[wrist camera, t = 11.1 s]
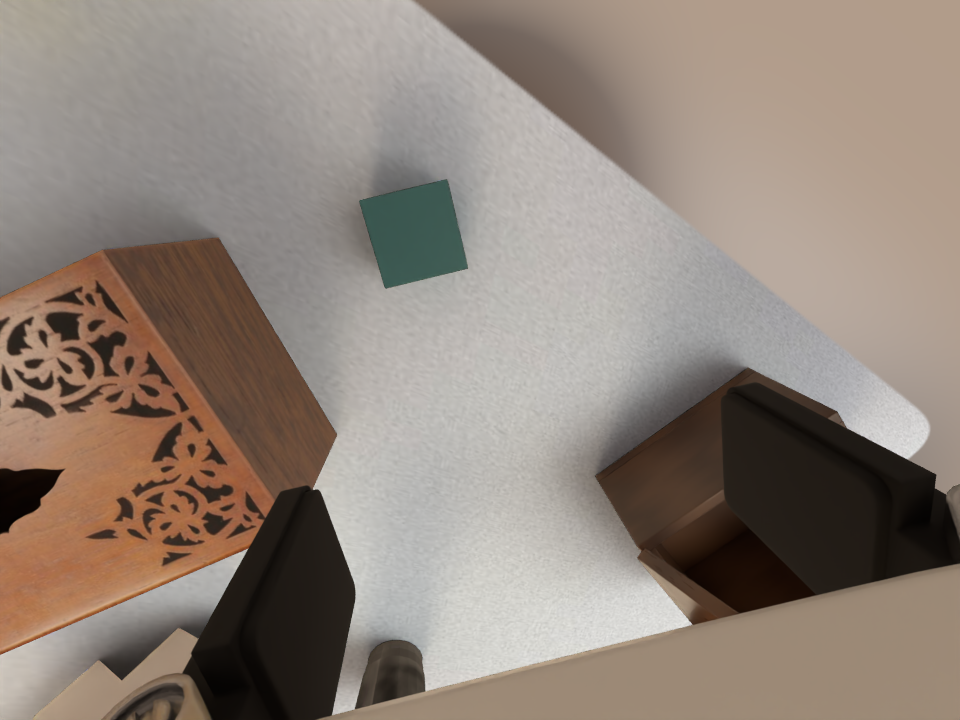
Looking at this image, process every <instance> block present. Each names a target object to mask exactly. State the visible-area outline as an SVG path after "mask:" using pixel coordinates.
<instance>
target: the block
mask: <svg viewBox="0 0 960 720" xmlns="http://www.w3.org/2000/svg"><path fill="white" fill-rule="evenodd" d="M359 202H360V206H361V209H362V212H363V216H364V219H365V223H366V226H367V229H368V233H369V236H370V239H371V243H372V246H373V250H374V253H375V256H376V260H377V263H378V266H379V270H380V273H381V276H382V280H383V283H384V287H385V288H390V287H395V286H399V285H403V284H407V283H411V282H415V281H419V280H423V279H427V278H431V277H435V276H440V275H444V274H448V273H452V272H456V271H460V270H464V269H468V265H467V261H466V257H465V252H464V248H463V244H462V239H461V235H460V231H459V227H458V222H457V218H456V214H455V210H454V205H453V201H452V197H451V193H450V188H449V184H448V180H447V179H446V180H441V181H437V182H433V183H429V184H425V185H421V186H417V187H412V188H408V189H404V190H400V191H396V192H392V193H388V194H383V195H379V196H375V197H371V198H367V199H363V200H360V201H359Z"/></svg>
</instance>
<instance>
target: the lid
mask: <svg viewBox="0 0 960 720" xmlns="http://www.w3.org/2000/svg"><path fill="white" fill-rule="evenodd" d="M637 559H638V560H639V561H640V562H641V564H642V565H643V566H644V567H645V568H646V570H647V571H648V572H649V573H650V574H651V576H652V577H653V578H654V579H655V580H656V581H657V583H658V584H659V585H660V586H661V587H662V589H663V590H664V591H665V592H666V593H667V594H668V596H669V597H670V598H671V599H672V600H673V602H674V603H675V604H676V605H677V606H678V608H679V609H680V610H681V611H682V612H683V613H684V615H685V616H686V617H687V618H688V619H689V621H690V622H691V623H692V624H693V625H695V624H699V623H703V622H707V621H712V620H716V619H720V618H724V617H728V616H733V615H737V614H740V613H738V612H737V611H735V610H734V609H733V608H731V607H730V606H728V605H727V604H725V603H724V602H722V601H721V600H720V599H718V598H717V597H715V596H714V595H712V594H711V593H710V592H708V591H707V590H705V589H704V588H702V587H701V586H699V585H698V584H697V583H695V582H694V581H692V580H691V579H689V578H688V577H686V576H685V575H684V574H682V573H681V572H679V571H678V570H676V569H675V568H673V567H672V566H671V565H669V564H668V563H666V562H665V561H663V560H662V559H660V558H659V557H658V556H656V555H655V554H653V553H652V552H650V551H649V550H647V549H646V548H645V549H644V550H643V551H642V552H641V553H640V554H639V556H638V557H637Z"/></svg>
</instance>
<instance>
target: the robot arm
mask: <svg viewBox="0 0 960 720" xmlns="http://www.w3.org/2000/svg"><path fill="white" fill-rule="evenodd" d="M721 427H722V453H723V479H724V496H725V500H726V502H727V505H728V506H729V508H730V509H731V510H732V512H733V513H734V514H735V515H736V516H737V517H738V518H739V519H740V520H741V521H743V522H744V523H745V524H746V525H747V526H748V527H749V528H750V529H751V530H752V531H753V532H754V533H755V534H756V535H757V536H758V537H759V538H760V539H761V540H762V541H763V542H764V543H765V544H766V545H767V546H768V547H769V548H770V549H771V550H772V551H773V552H774V553H775V554H776V555H777V556H778V557H779V558H780V559H781V560H782V561H783V562H784V563H785V564H786V565H787V566H788V567H789V568H790V569H791V570H792V571H793V572H794V573H795V574H796V575H797V576H798V577H799V578H800V579H801V580H802V581H803V582H804V583H805V584H806V585H807V586H808V587H809V588H810V589H811V590H812V591H813V592H814V593H815V594H816V596H812V597H808V598H804V599H800V600H795V601H791V602H787V603H783V604H779V605H774V606H770V607H766V608H762V609H758V610H753V611H749V612H745V613H741V614H737V615H733V616H728V617H724V618H720V619H716V620H712V621H707V622H703V623H699V624H695V625H691V626H687V627H683V628H679V629H675V630H671V631H666V632H662V633H658V634H654V635H650V636H646V637H642V638H638V639H634V640H630V641H626V642H621V643H617V644H613V645H609V646H605V647H601V648H597V649H593V650H589V651H585V652H581V653H577V654H573V655H569V656H565V657H561V658H557V659H553V660H549V661H544V662H540V663H536V664H532V665H528V666H524V667H520V668H516V669H513V670H509V671H505V672H501V673H497V674H493V675H489V676H485V677H481V678H477V679H473V680H469V681H465V682H461V683H457V684H453V685H449V686H445V687H441V688H437V689H433V690H429V691H425V692H421V693H417V694H413V695H409V696H405V697H402V698H398V699H394V700H390V701H386V702H382V703H378V704H374V705H370V706H367V707H363V708H359V709H355V710H351V711H347V712H343V713H340V714H336V715H332V712H333V707H334V702H335V697H336V692H337V687H338V682H339V677H340V672H341V667H342V662H343V657H344V653H345V648H346V643H347V638H348V633H349V628H350V623H351V618H352V613H353V608H354V603H355V585H354V581H353V579H352V576H351V573H350V571H349V568H348V565H347V562H346V560H345V557H344V554H343V551H342V549H341V546H340V543H339V541H338V538H337V535H336V532H335V530H334V527H333V524H332V522H331V519H330V516H329V513H328V511H327V508H326V505H325V503H324V500H323V497H322V495H321V492H320V491H319V490H312V489H311V488H310V486H308V485H305V486H301V487H297V488H292V489H288V490H284V491H281V492H280V493H279V495H278V496H277V498H276V500H275V502H274V504H273V505H272V507H271V509H270V511H269V513H268V514H267V516H266V518H265V520H264V522H263V523H262V525H261V527H260V529H259V531H258V532H257V534H256V536H255V538H254V540H253V541H252V543H251V545H250V547H249V549H248V550H247V552H246V554H245V556H244V558H243V560H242V561H241V563H240V565H239V567H238V569H237V570H236V572H235V574H234V576H233V578H232V579H231V581H230V583H229V585H228V587H227V588H226V590H225V592H224V594H223V596H222V597H221V599H220V601H219V603H218V605H217V606H216V608H215V610H214V612H213V614H212V615H211V617H210V619H209V621H208V623H207V624H206V626H205V628H204V630H203V632H202V633H201V635H200V637H199V639H198V641H197V642H196V644H195V646H194V648H193V650H192V652H191V655H192V656H191V658H190V660H189V661H188V663H187V665H186V667H185V669H184V670H183V672H182V674H181V673H174V674H168V675H164V676H161V677H159V678H156V679H154V680H151V681H149V682H147V683H146V684H144V685H142V686H141V687H139V688H137V689H136V690H134V691H133V692H131V693H130V694H129V695H127V696H126V697H125V698H124V699H122V700H121V701H120V702H119V703H117V704H116V705H115V706H114V707H113V708H112V709H111V710H110V711H109V712H108V713H107V714H106V715H105V716H104V717H103V718H102V719H101V720H960V484H959V485H956V486H953V487H952V488H951V489H950V490H949V491H948V492H947V495H946V494H944V493H942V492H940V491H939V490H937V489H935V481H936V474H934V473H932V472H930V471H928V470H926V469H925V468H923V467H921V466H918V465H917V464H915V463H913V462H911V461H909V460H907V459H905V458H903V457H901V456H899V455H897V454H896V453H894V452H892V451H890V450H888V449H886V448H884V447H882V446H880V445H878V444H876V443H874V442H872V441H870V440H868V439H866V438H865V437H863V436H861V435H859V434H857V433H855V432H853V431H851V430H849V429H847V428H845V427H843V426H841V425H839V424H837V423H835V422H834V421H832V420H830V419H828V418H826V417H824V416H822V415H820V414H818V413H816V412H814V411H812V410H810V409H808V408H806V407H805V406H803V405H801V404H799V403H797V402H795V401H793V400H791V399H789V398H787V397H785V396H783V395H781V394H779V393H777V392H775V391H774V390H772V389H770V388H768V387H766V386H764V385H762V384H760V383H757V382H753V383H748V384H744V385H740V386H735V387H731V388H729V389H728V390H727V393H726V395H724V396H723V397H722V398H721Z"/></svg>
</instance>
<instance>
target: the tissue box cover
mask: <svg viewBox="0 0 960 720" xmlns="http://www.w3.org/2000/svg"><path fill="white" fill-rule="evenodd" d="M336 436H337V434H336V432H335V431H334V429H333V427H332V426H331V424H330V422H329V421H328V419H327V417H326V416H325V414H324V412H323V411H322V409H321V407H320V406H319V404H318V402H317V401H316V399H315V397H314V396H313V394H312V392H311V391H310V389H309V387H308V386H307V384H306V382H305V381H304V379H303V377H302V376H301V374H300V372H299V371H298V369H297V367H296V366H295V364H294V362H293V361H292V359H291V357H290V356H289V354H288V352H287V351H286V349H285V347H284V346H283V344H282V342H281V341H280V339H279V338H278V336H277V334H276V333H275V331H274V329H273V328H272V326H271V324H270V323H269V321H268V319H267V318H266V316H265V314H264V313H263V311H262V309H261V308H260V306H259V304H258V303H257V301H256V299H255V298H254V296H253V294H252V293H251V291H250V289H249V288H248V286H247V284H246V283H245V281H244V279H243V278H242V276H241V274H240V273H239V271H238V269H237V268H236V266H235V264H234V263H233V261H232V259H231V258H230V256H229V254H228V253H227V251H226V249H225V248H224V246H223V244H222V243H221V241H220V239H219V238H210V239H201V240H191V241H182V242H173V243H163V244H154V245H144V246H135V247H125V248H116V249H107V250H101V251H99V252H97V253H95V254H92V255H90V256H88V257H86V258H84V259H82V260H80V261H77V262H75V263H73V264H71V265H69V266H67V267H65V268H62V269H60V270H58V271H56V272H54V273H52V274H50V275H47V276H45V277H43V278H41V279H39V280H37V281H35V282H32V283H30V284H28V285H26V286H24V287H22V288H20V289H17V290H15V291H13V292H11V293H9V294H7V295H5V296H2V297H0V655H1V654H3V653H5V652H8V651H10V650H12V649H15V648H17V647H19V646H22V645H24V644H26V643H29V642H31V641H33V640H36V639H38V638H40V637H43V636H45V635H47V634H50V633H52V632H54V631H57V630H59V629H61V628H64V627H66V626H68V625H71V624H73V623H75V622H78V621H80V620H82V619H85V618H87V617H89V616H92V615H94V614H96V613H99V612H101V611H103V610H106V609H108V608H110V607H113V606H115V605H117V604H120V603H122V602H124V601H127V600H129V599H131V598H134V597H136V596H138V595H141V594H143V593H145V592H148V591H150V590H152V589H155V588H157V587H159V586H162V585H164V584H166V583H169V582H171V581H173V580H176V579H178V578H180V577H183V576H185V575H187V574H190V573H192V572H194V571H197V570H199V569H201V568H204V567H206V566H208V565H211V564H213V563H215V562H218V561H220V560H222V559H225V558H227V557H229V556H232V555H234V554H236V553H239V552H241V551H243V550H246V549H248V548H249V547H250V545H251V543H252V541H253V540H254V538H255V536H256V534H257V532H258V531H259V529H260V527H261V525H262V523H263V522H264V520H265V518H266V516H267V514H268V513H269V511H270V509H271V507H272V505H273V504H274V502H275V500H276V498H277V496H278V495H279V493H280V492H281V491H284V490H288V489H292V488H297V487H301V486H305V485H308V486H310V488H311V489H313V487H314V485H315V483H316V480H317V478H318V476H319V474H320V472H321V469H322V467H323V465H324V463H325V461H326V458H327V456H328V454H329V452H330V450H331V447H332V445H333V443H334V441H335V439H336Z"/></svg>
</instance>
